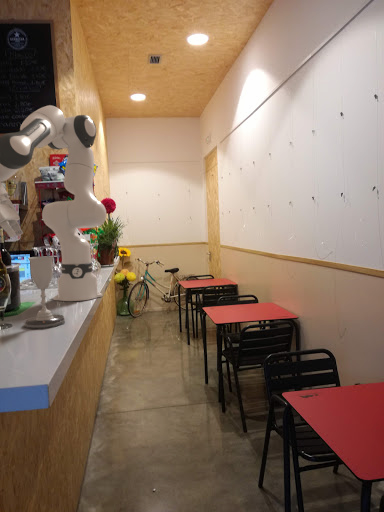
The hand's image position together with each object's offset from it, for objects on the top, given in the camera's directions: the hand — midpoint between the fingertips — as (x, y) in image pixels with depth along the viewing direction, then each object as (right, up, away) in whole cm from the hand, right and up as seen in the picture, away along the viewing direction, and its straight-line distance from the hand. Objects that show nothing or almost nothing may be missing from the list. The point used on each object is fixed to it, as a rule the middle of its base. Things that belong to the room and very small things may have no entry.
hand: (17, 235), depth 116 cm
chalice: (+10, -25, -5) cm, 27 cm away
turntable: (+10, -26, -5) cm, 29 cm away
